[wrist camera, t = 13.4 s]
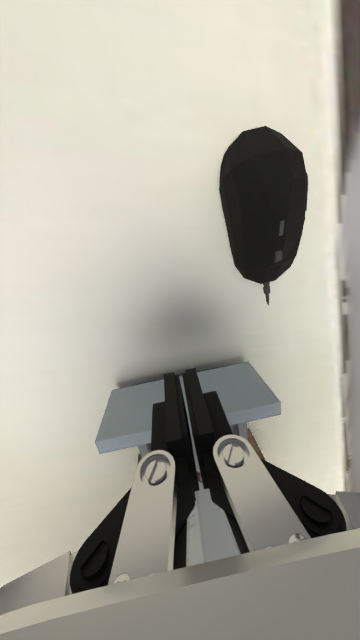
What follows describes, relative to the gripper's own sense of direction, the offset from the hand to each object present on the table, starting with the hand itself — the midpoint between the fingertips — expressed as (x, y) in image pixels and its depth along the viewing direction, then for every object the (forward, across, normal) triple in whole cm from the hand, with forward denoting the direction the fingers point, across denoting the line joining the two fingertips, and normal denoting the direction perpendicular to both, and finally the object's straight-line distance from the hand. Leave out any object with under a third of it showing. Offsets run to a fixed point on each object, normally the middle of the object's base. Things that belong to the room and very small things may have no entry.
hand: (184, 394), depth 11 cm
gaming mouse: (+11, -9, -7) cm, 16 cm away
